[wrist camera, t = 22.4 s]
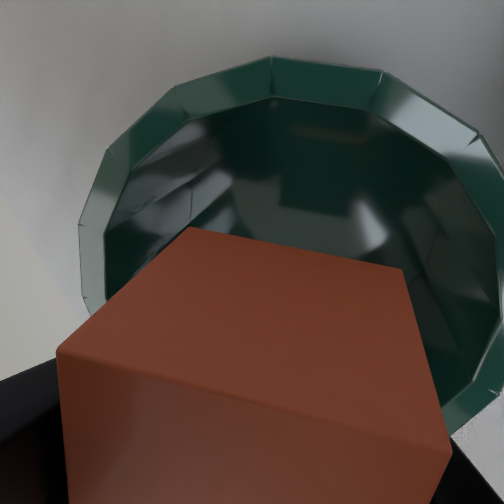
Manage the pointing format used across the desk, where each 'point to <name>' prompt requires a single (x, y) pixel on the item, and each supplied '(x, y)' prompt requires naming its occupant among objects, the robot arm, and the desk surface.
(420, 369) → the block
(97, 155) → the desk surface
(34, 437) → the robot arm
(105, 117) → the desk surface
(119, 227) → the pot
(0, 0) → the desk surface
